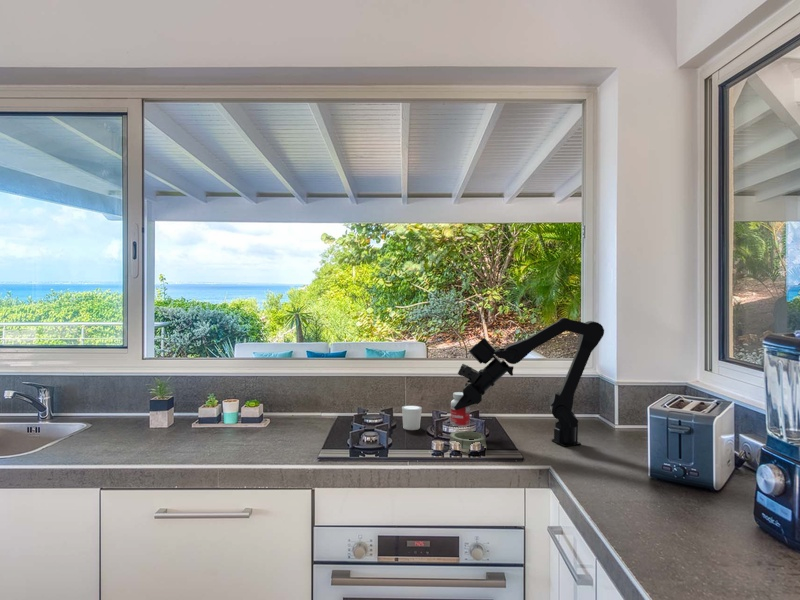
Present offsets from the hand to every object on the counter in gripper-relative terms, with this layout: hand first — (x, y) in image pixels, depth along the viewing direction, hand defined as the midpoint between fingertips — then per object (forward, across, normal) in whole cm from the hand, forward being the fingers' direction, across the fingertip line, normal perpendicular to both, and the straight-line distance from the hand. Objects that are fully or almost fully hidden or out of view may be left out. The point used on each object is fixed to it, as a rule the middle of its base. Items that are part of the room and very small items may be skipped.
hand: (455, 406), depth 162 cm
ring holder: (+3, +13, +10) cm, 17 cm away
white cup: (+17, -4, -4) cm, 18 cm away
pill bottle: (+4, 0, +6) cm, 7 cm away
